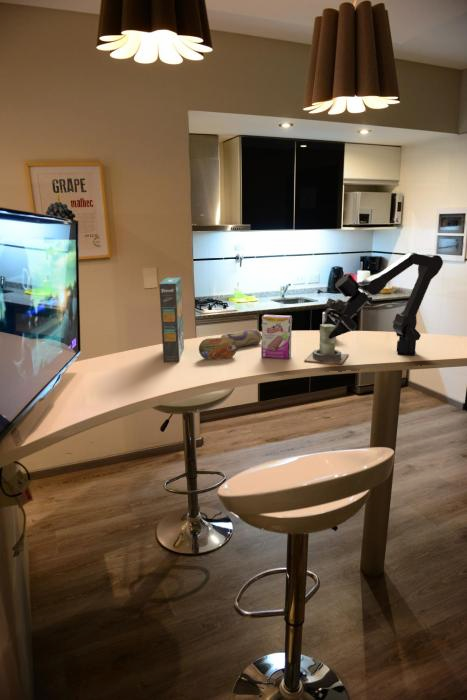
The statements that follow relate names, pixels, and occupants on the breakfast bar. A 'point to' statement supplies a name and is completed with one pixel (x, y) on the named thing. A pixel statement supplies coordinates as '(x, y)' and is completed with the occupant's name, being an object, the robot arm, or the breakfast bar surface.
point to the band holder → (326, 358)
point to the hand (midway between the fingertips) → (324, 335)
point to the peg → (326, 340)
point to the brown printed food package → (217, 348)
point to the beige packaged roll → (245, 337)
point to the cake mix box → (171, 319)
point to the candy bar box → (276, 336)
